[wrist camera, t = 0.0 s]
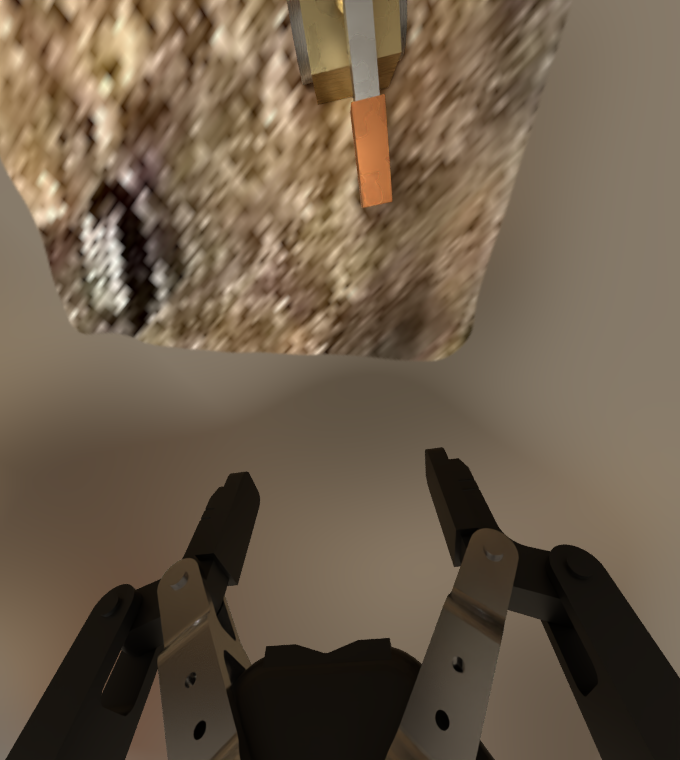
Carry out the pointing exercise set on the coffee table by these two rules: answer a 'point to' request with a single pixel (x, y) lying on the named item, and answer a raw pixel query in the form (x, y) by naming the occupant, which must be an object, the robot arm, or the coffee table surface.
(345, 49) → the valve housing
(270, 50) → the coffee table surface
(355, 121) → the valve lever
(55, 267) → the coffee table surface
